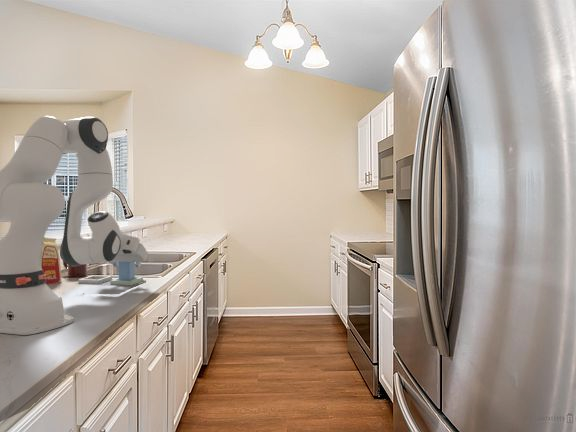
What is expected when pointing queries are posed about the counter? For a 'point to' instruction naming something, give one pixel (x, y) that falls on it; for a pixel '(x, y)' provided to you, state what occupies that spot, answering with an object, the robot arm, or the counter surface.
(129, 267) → the light blue block
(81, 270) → the mug
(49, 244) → the red sauce bottle
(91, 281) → the panel
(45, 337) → the counter surface
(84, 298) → the counter surface
